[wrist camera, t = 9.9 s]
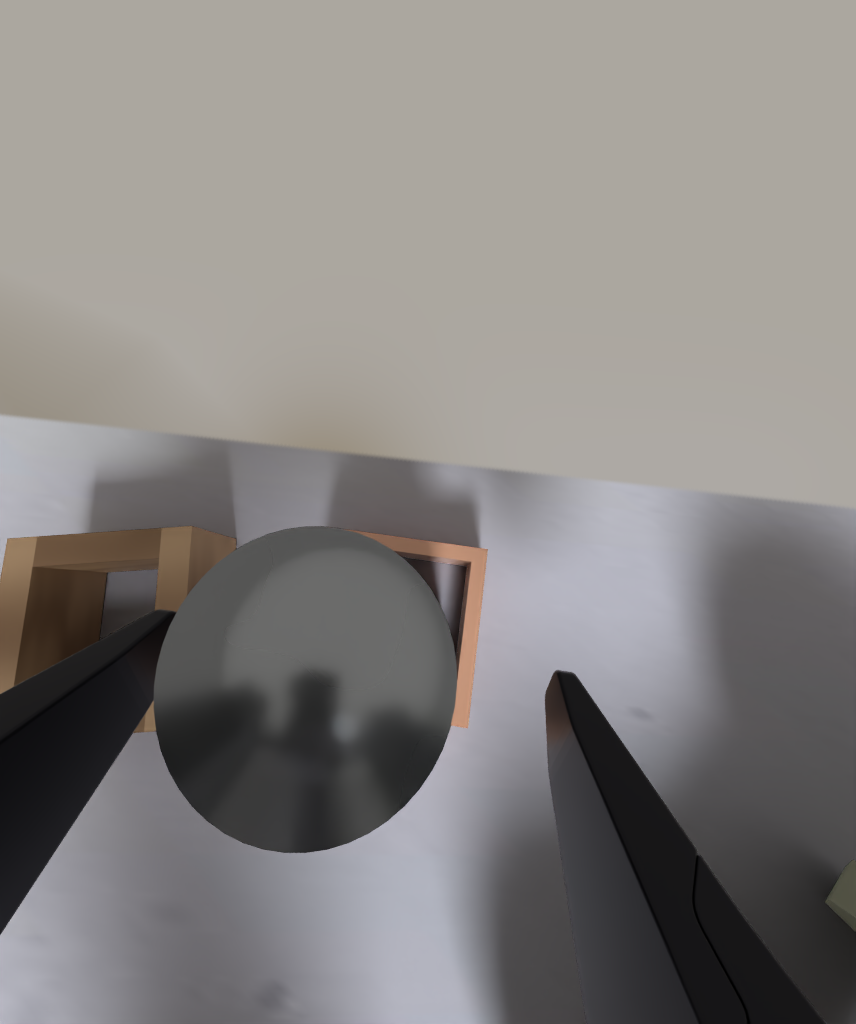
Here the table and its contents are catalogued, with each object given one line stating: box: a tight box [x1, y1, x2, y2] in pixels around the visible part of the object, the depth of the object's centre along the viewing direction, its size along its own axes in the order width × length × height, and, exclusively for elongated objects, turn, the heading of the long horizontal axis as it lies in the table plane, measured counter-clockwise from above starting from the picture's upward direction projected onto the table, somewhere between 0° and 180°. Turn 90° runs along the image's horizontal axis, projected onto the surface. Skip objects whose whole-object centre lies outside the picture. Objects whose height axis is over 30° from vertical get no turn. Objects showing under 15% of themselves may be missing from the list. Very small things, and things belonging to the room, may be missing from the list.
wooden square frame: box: [0, 526, 236, 733], centre depth 16 cm, size 7×7×4 cm
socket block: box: [345, 529, 488, 728], centre depth 17 cm, size 7×7×2 cm
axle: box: [154, 526, 457, 853], centre depth 11 cm, size 4×4×13 cm
